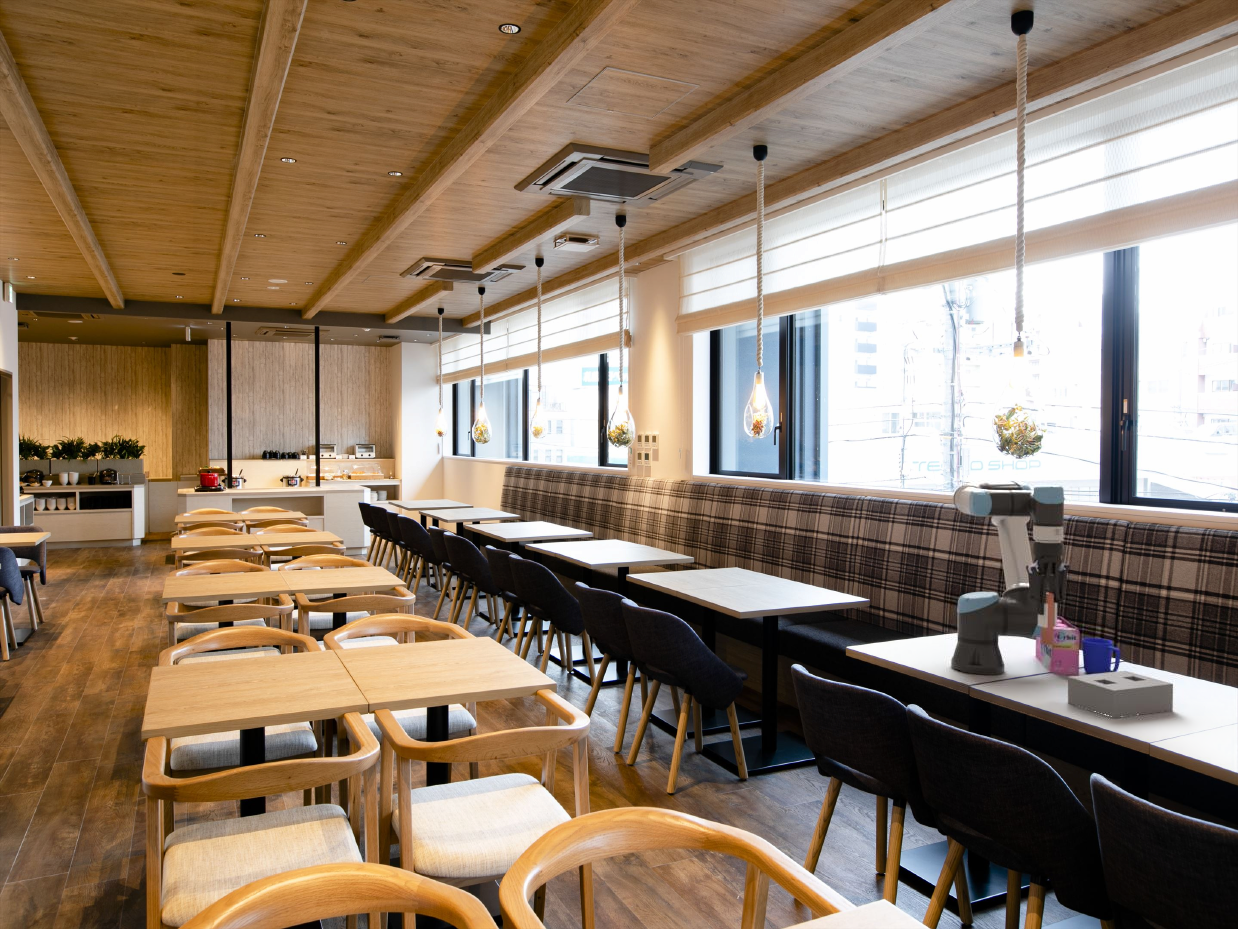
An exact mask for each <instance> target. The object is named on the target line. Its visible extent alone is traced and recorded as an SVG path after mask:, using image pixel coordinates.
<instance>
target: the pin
mask: <svg viewBox="0 0 1238 929" xmlns="http://www.w3.org/2000/svg"><path fill="white" fill-rule="evenodd" d="M1045 603H1047V604H1048V627H1046V628H1045V627H1041V644H1043V645H1053V629H1054V594H1053V593H1049V592H1046V601H1045Z"/></svg>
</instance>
